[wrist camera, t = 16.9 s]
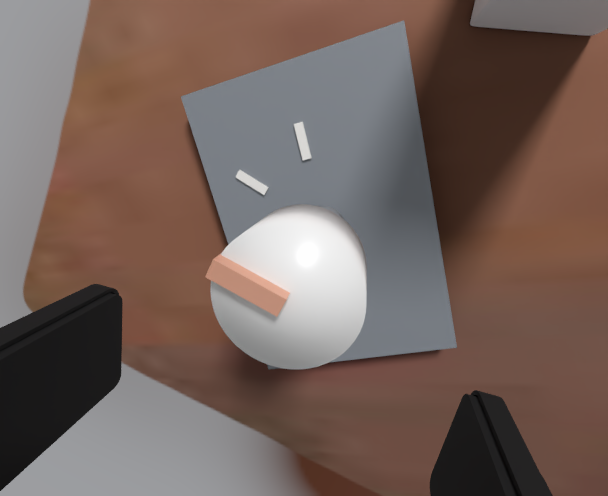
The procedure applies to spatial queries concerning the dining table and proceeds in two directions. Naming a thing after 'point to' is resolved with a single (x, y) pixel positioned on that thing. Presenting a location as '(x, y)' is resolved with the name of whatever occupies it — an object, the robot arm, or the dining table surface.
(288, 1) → the dining table surface
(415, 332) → the post stand
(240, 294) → the white rounded lump
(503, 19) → the milk carton
